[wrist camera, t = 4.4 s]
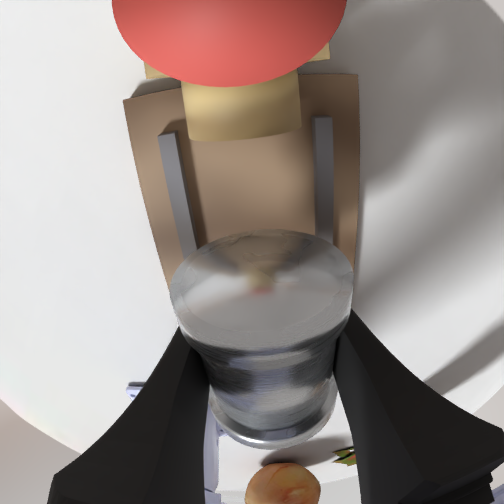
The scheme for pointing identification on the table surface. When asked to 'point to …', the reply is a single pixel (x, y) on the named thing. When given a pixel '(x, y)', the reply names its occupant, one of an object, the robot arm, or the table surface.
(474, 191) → the table surface
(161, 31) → the slider rig
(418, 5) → the table surface
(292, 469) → the onion
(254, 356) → the pipe coupling
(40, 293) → the table surface
